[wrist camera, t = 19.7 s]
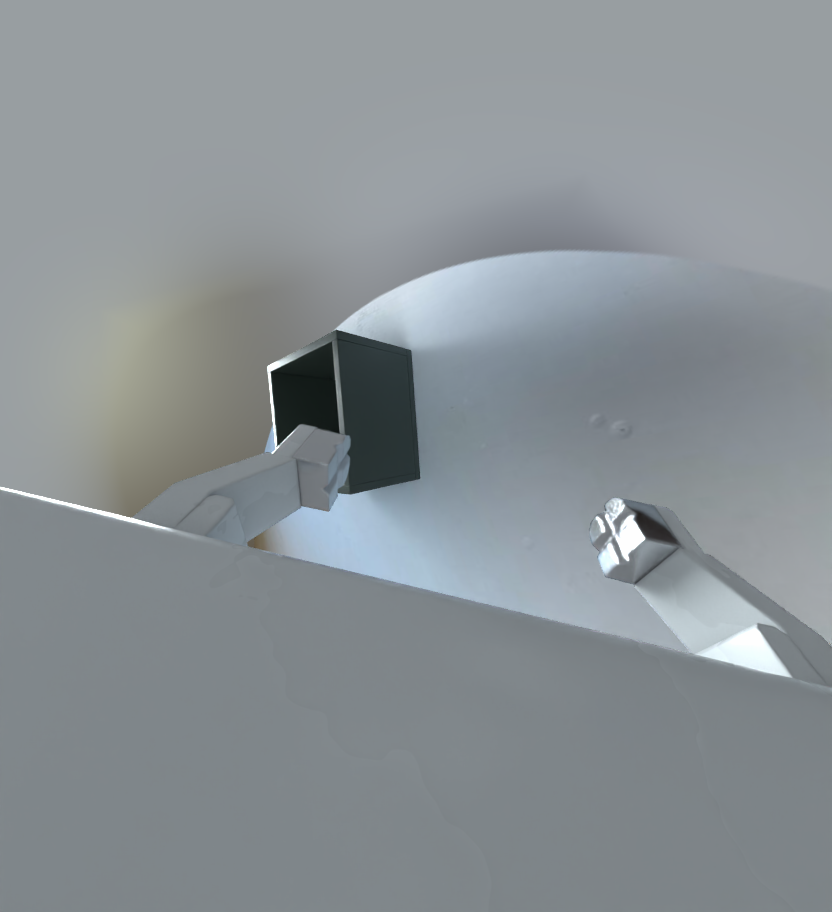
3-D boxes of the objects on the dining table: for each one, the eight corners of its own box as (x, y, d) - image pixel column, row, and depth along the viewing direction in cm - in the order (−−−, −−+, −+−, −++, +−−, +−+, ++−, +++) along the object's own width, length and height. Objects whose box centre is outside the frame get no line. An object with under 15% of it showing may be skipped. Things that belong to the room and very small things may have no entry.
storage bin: (337, 375, 43) (267, 366, 35) (411, 350, 33) (336, 329, 26) (345, 475, 43) (278, 486, 36) (420, 478, 34) (350, 494, 26)
